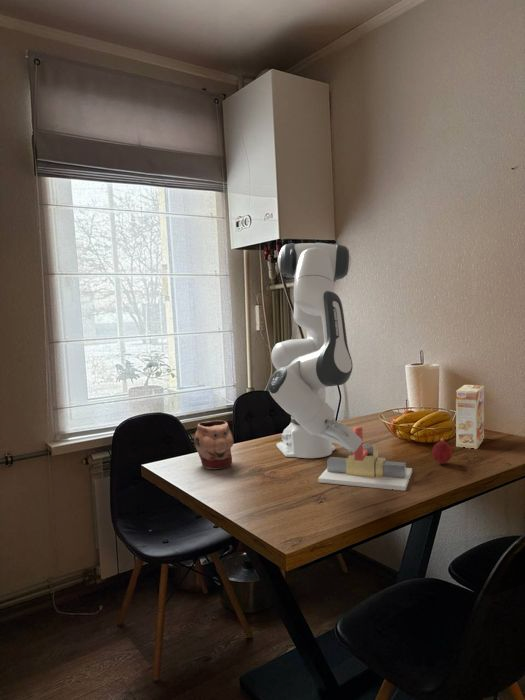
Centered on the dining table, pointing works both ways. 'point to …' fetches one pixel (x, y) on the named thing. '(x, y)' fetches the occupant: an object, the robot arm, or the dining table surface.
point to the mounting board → (366, 480)
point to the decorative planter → (214, 444)
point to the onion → (442, 451)
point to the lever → (361, 446)
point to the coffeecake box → (470, 416)
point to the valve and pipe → (367, 466)
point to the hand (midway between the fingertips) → (350, 449)
